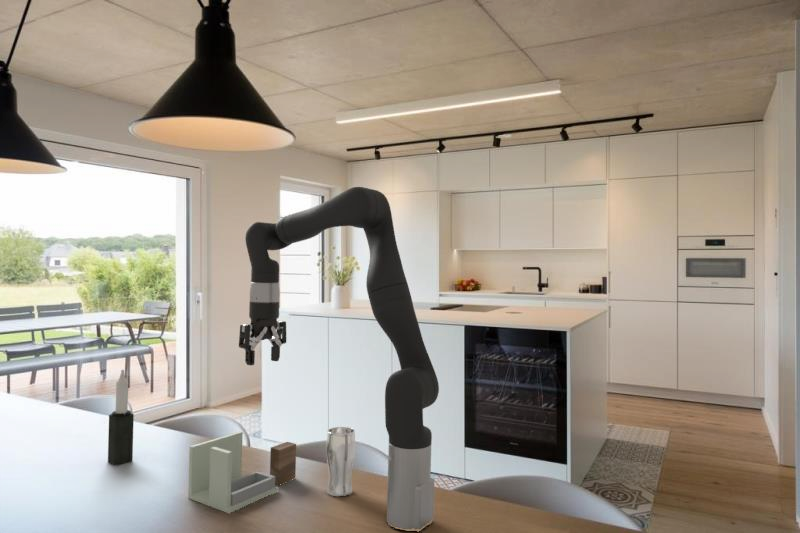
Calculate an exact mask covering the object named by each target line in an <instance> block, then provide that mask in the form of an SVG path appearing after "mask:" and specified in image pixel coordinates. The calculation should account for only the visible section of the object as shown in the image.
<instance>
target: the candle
mask: <svg viewBox="0 0 800 533" xmlns="http://www.w3.org/2000/svg"><path fill="white" fill-rule="evenodd" d="M128 401H129V381H128V379H127V378H126V375H125V370H124V369H121V370H120V375H119V378H118V379H117V381H116V385H115V410H114V411H112V412H111V413H110V414H108V438H107V439H108V440H107V441H108V446H107V448H108V449H107V463H109V464H110V463H111V464H110V465H112V464H113V466H120V465H123V464H127V463H131V462H133V458H134V457H133V455H134V454H133V453H134V452H133V451H134V450H133V448H134V421H135V420H134V418H135V417H134V416H135V414H134V413H131V412H132V411H131V410H129V409H128V405H129V404H128Z"/></svg>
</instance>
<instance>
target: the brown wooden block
mask: <svg viewBox="0 0 800 533" xmlns="http://www.w3.org/2000/svg"><path fill="white" fill-rule="evenodd" d="M269 460H270V461H269V463H270V464H269V475H273V476H275V486H276V485H280V484H283V483H285V482H287V483H289V482H288V481H290V480H292V479H294V478H295V479H296V470H297V468H296V464H297V443H294V442H289V441H286V442H283V443H280V444H277V445H274V446H271V447H270V459H269ZM295 479H294V480H295ZM292 481H293V480H292ZM290 482H291V481H290ZM285 484H286V483H285ZM283 485H284V484H283ZM280 486H281V485H280Z"/></svg>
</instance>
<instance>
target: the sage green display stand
mask: <svg viewBox="0 0 800 533" xmlns="http://www.w3.org/2000/svg"><path fill="white" fill-rule="evenodd" d="M243 434H244V433H243V431H238V432H234V433H230V434H228V435H223V436H221V437H217V438H214V439H210V440H206V441H203V442H200V443H197V444H194V445H190V446H189V453H188V454H189V456H188V457H189V459H188V461H189V462H188V497H187V498H188V499H190V500H193V501H195V502H197V503H201V504H203V505H205V506H209V507H210V506H211V507H210V508H214V509H216V510H218V511H222V512H224V513H226V514H232V513H234V512H236V511H239V510H240V508H241V509H242V507H243V508H245V507H247V506H246V505H248V504H250V503H252V504H254V503H255V502H254V501H257V500H259V499H261V498H263V499H265V498H264V497H266V496H268V495H270V496H272V495H274V494H273V493H275V492H277V491H279V489H280V488H279V486H276V485H275V476H273V475H270V473H265V472H262V471H260V470H259V471H255V472H251V473H250V472H249V473H248V474H245V475H242V467H243V466H242V465H243V464H242V462H243ZM279 492H280V491H279ZM277 493H278V492H277ZM271 494H272V495H271ZM275 494H276V493H275ZM268 497H269V496H268ZM266 498H267V497H266ZM261 500H262V499H261ZM259 501H260V500H259ZM253 502H254V503H253ZM257 502H258V501H257ZM250 505H251V504H250ZM244 506H245V507H244ZM248 506H249V505H248ZM235 510H236V511H235ZM231 512H232V513H231Z"/></svg>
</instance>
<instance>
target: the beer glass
mask: <svg viewBox="0 0 800 533" xmlns="http://www.w3.org/2000/svg"><path fill="white" fill-rule="evenodd" d="M325 451H326V462H327V468H328V469H327V471H328V485H327V490H326V493H327V495H328V494H330V495H334V496H344V495H348V494H350V495H352V494H353V487H352V471H353V466H354V462H355V461H354V460H355V455H356V431H355V429H354V428H352V427H348V426H335V427H331V428H329V429H328V430H327V437H326V450H325ZM351 493H352V494H351ZM330 495H329V496H330Z"/></svg>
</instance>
